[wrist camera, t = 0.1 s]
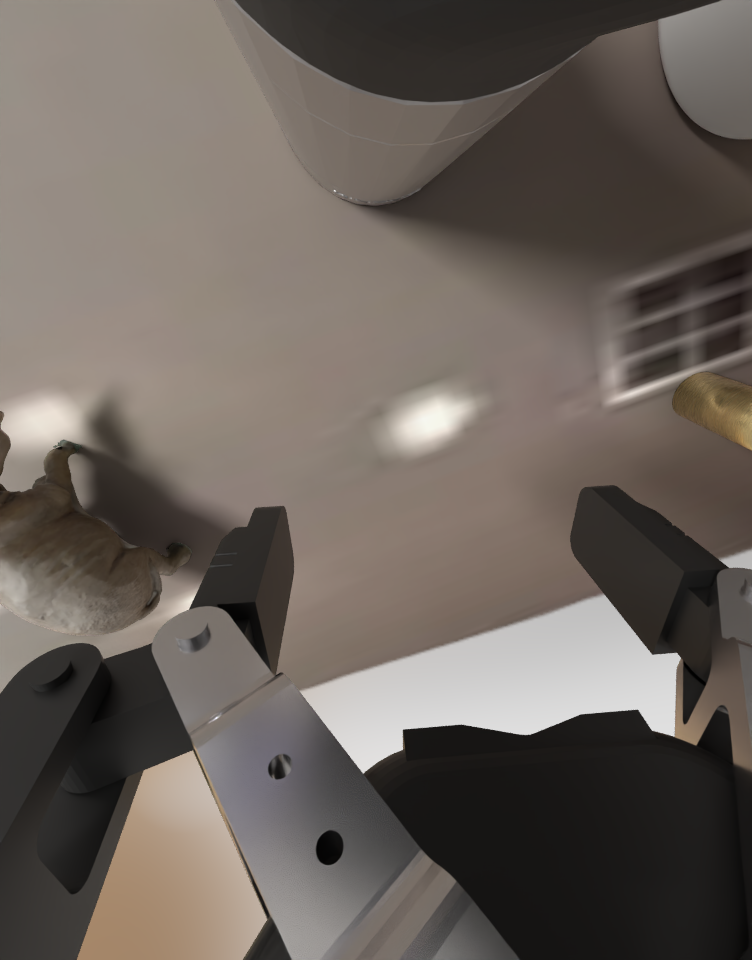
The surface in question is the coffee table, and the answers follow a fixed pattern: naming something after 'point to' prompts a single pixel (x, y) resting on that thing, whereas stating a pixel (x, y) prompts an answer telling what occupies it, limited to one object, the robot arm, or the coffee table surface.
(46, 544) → the rhinoceros figurine
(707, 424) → the link pin
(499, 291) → the coffee table surface
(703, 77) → the cylinder vase
